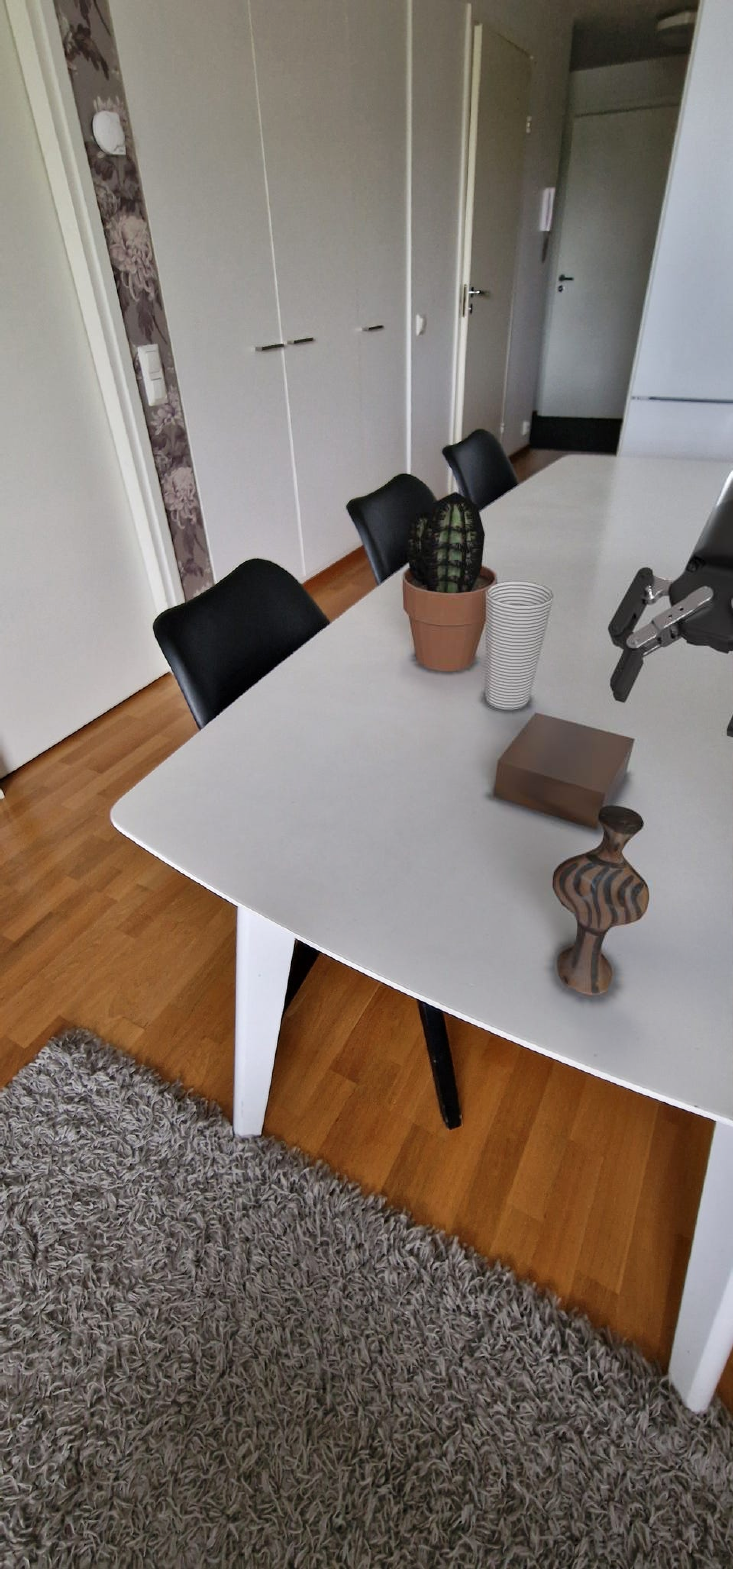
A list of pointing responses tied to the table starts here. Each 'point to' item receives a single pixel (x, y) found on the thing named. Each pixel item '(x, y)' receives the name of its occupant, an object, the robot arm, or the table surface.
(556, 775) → the walnut block
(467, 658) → the potted plant
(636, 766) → the table surface
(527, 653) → the cup
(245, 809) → the table surface
